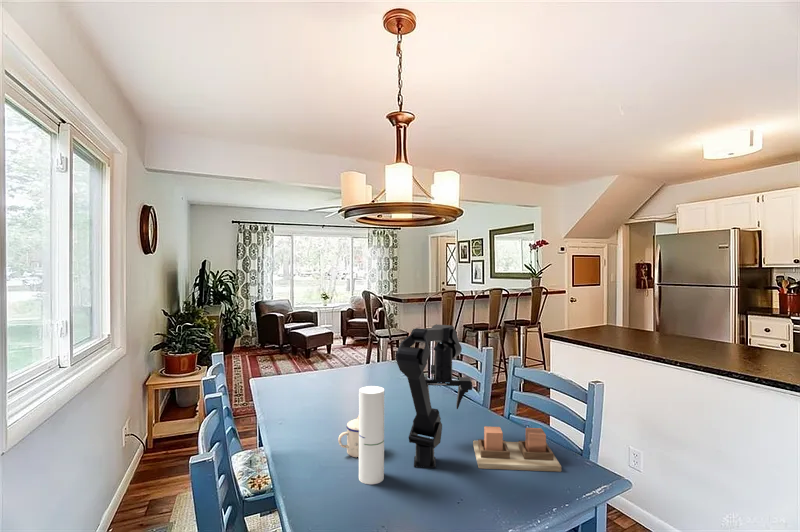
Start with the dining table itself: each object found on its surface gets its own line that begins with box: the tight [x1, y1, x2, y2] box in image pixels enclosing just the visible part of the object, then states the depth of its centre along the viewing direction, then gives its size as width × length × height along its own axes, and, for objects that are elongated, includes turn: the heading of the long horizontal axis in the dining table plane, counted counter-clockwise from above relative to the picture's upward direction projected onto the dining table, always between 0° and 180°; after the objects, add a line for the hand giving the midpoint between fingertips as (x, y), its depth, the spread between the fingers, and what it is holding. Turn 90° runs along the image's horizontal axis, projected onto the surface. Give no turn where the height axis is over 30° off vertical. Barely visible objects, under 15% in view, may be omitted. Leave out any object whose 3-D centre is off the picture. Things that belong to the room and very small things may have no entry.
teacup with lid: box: [337, 415, 359, 459], centre depth 133 cm, size 12×9×12 cm
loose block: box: [483, 426, 504, 451], centre depth 131 cm, size 5×5×7 cm
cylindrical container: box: [358, 385, 385, 485], centre depth 118 cm, size 7×7×25 cm
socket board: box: [472, 427, 562, 473], centre depth 131 cm, size 16×24×8 cm, turn 86°
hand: (443, 408), depth 140 cm, fingers open, 9 cm apart
